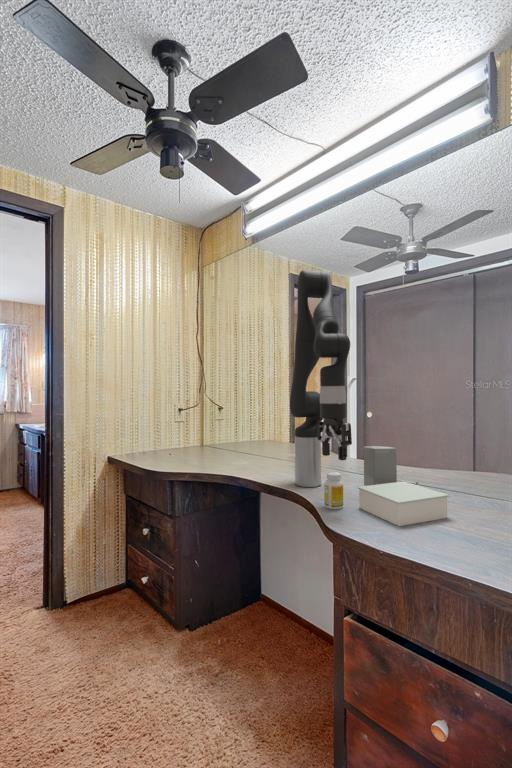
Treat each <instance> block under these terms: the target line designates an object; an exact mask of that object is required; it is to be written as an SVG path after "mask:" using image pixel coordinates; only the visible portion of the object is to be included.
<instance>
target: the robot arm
mask: <svg viewBox="0 0 512 768" xmlns="http://www.w3.org/2000/svg"><path fill="white" fill-rule="evenodd" d="M297 277H298V279H297V290H296V291H297V294H296V295H297V312H296V313H297V315H296V316H297V317H296V318H297V319H296V330H295V340H294V341H295V342H294V361H293V362H294V364H293V365H294V366H293V375H292V382H291V390H290V395H289V409H290V413H291V416H293V417H295V418H299V419H300V418H305V421H304V422H303V423H302V424H300V425H298V426H297V427H295V429H294V483H295V485H296V486H298V487H303V488H315V487H320V486H322V456H323V457H328V456H330V455H331V445H330V441H331V440H332V438H333V440H335V441H336V443H337V445H338V447H337V450H338V452H337V453H338V460H339V461H346V460H347V457H348V455H347V451H348V450H347V448H348V446H352V444H353V442H352V441H353V440H352V424H351V423H350V422H348V423H347V422H346V423H345V422H344V419H346V418H347V391H346V382H345V381H346V380H345V379H346V378H345V376H346V375H345V374H346V366H347V361H348V356H349V353H350V349H351V340H350V338H349V336H348V335H347V334H346V333H338V332H339V322H338V318H337V316H336V312H335V306H334V294H333V293H334V291H333V281H332V277H331V274H329V272H328V271H325V270H324V271H323V270H315V269H314V270H312V269H302V270H300V272H299V274H298V276H297ZM309 299H321V300H320V302H319V303H318V304H317V306H315V308H314V311H313V313H311V310H310V307H309ZM320 358H322V359H323V358H324V359H326V358H332V359H333V358H334V359H335V358H336V361H335V362H334V363H332V364H330V365H326V366H325V365H324V366H322V367H321V368H320V371H319V377H320V378H319V381H320V382H319V383H320V385H319V386H320V389H319V392H318V391H315V390H314V391H313V390H311V391H310V390H309V391H307V385H308V380H309V378H310V375H311V373H312V372H313V370H314V369H315V366H316V365H317V364H318V362H319V360H320ZM346 438H347V439H346ZM319 485H320V486H319Z"/></svg>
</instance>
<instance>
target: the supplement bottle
mask: <svg viewBox="0 0 512 768" xmlns="http://www.w3.org/2000/svg"><path fill="white" fill-rule="evenodd" d="M341 479H342V475H341V473H340V472H336V471H335V472H334V471H333V472H327V473H326V480H325V481H324V487H323V489H324V490H323V491H324V494H323V495H324V499H323V500H324V504H323V505H324V507H325V508H327V509H328V510H329V509H330V510H341V509H342V508H343V507H344V482H343V481H342V480H341Z"/></svg>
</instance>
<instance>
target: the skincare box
mask: <svg viewBox="0 0 512 768" xmlns="http://www.w3.org/2000/svg"><path fill="white" fill-rule="evenodd" d="M397 467H398V466H397V448H396V447H391V446H384V445H383V446H382V445H381V446H378V445H372V446H369V445H368V446H363V486H370V485H378V484H386V483H394V482H398V480H397V479H398V478H397V476H398V473H397V472H398V471H397Z"/></svg>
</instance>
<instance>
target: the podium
mask: <svg viewBox="0 0 512 768" xmlns="http://www.w3.org/2000/svg"><path fill="white" fill-rule="evenodd" d="M357 489H358V491H359V498H358V499H359V509H360V510H363V511H366V513H369V514H371V515H373V516H376V517H377V518H380V519H382V520H385V521H387V522H388V523H391V524H393V525H395V526H397V527H402V526H408V525H414V524H420V523H426V522H430V521H431V522H432V521H437V520H442V519H447V518H448V498H449V497H450V495H449V494H447V493H444V492H440V491H438V490H437V491H436V490H433V489H430V488H427V487H423V486H421V485H418V484H417V485H416V484H414V483H410V482H408V481H397V482H394V483H386V484H378V485H370V486H364V485H362V486H358V487H357Z"/></svg>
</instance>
